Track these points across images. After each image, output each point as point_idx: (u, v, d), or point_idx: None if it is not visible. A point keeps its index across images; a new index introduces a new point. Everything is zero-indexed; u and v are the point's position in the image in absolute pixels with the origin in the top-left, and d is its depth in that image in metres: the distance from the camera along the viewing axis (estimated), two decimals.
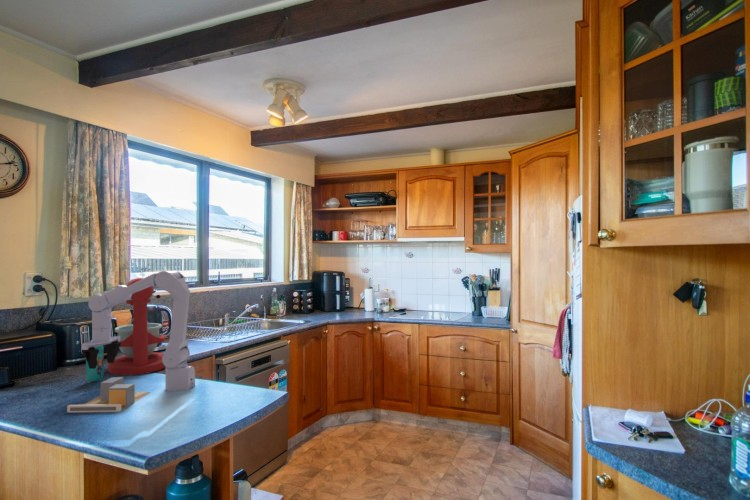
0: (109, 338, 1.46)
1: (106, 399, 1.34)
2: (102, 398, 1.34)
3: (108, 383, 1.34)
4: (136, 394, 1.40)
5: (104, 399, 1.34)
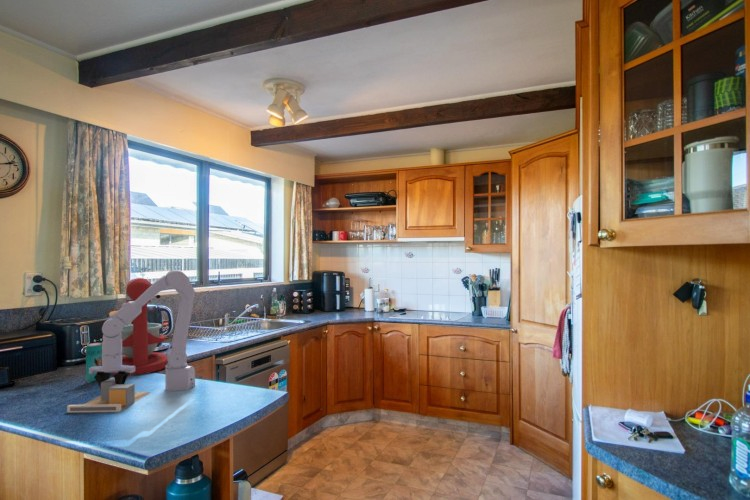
0: (108, 367, 1.34)
1: (106, 399, 1.34)
2: (102, 398, 1.34)
3: (108, 383, 1.34)
4: (136, 394, 1.40)
5: (104, 399, 1.34)
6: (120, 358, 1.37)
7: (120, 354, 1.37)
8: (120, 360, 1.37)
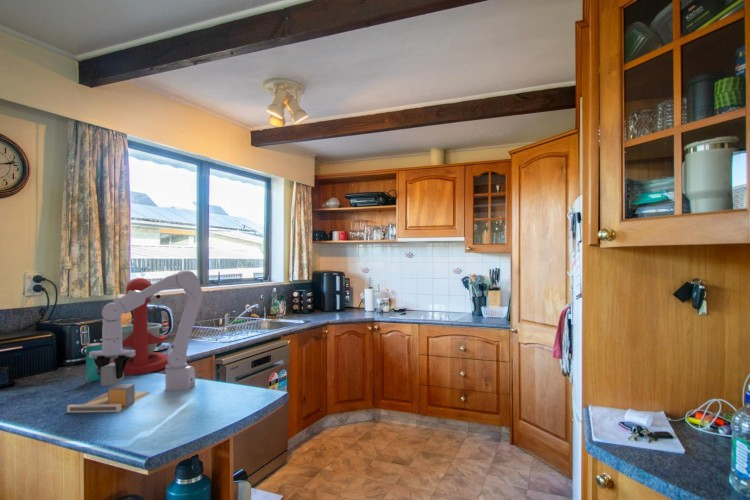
0: (108, 351, 1.34)
1: (106, 384, 1.34)
2: (102, 383, 1.34)
3: (108, 368, 1.34)
4: (136, 394, 1.40)
5: (104, 384, 1.34)
6: (120, 342, 1.37)
7: (120, 338, 1.37)
8: (120, 344, 1.37)
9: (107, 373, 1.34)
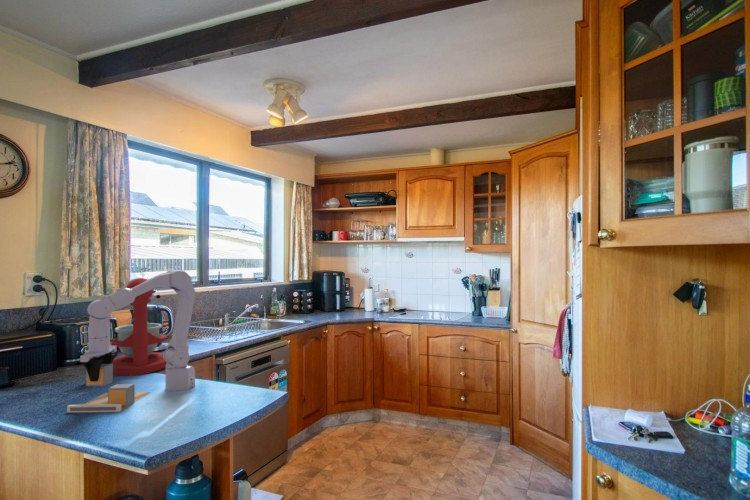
0: (108, 348, 1.31)
1: (108, 382, 1.31)
2: (105, 382, 1.29)
3: (110, 365, 1.31)
4: (136, 394, 1.40)
5: (107, 383, 1.30)
6: None
7: None
8: None
9: (109, 371, 1.31)
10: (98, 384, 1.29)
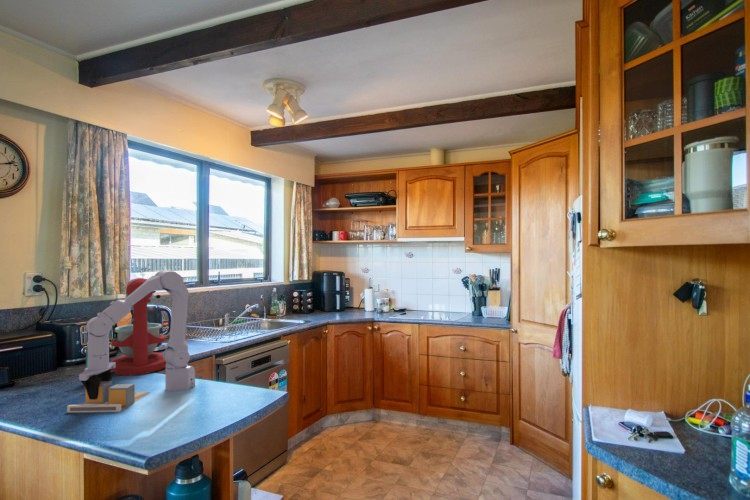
0: (108, 365, 1.31)
1: (107, 400, 1.30)
2: (105, 400, 1.29)
3: (109, 383, 1.31)
4: (136, 394, 1.40)
5: (106, 401, 1.29)
6: None
7: None
8: None
9: None
10: (97, 402, 1.28)
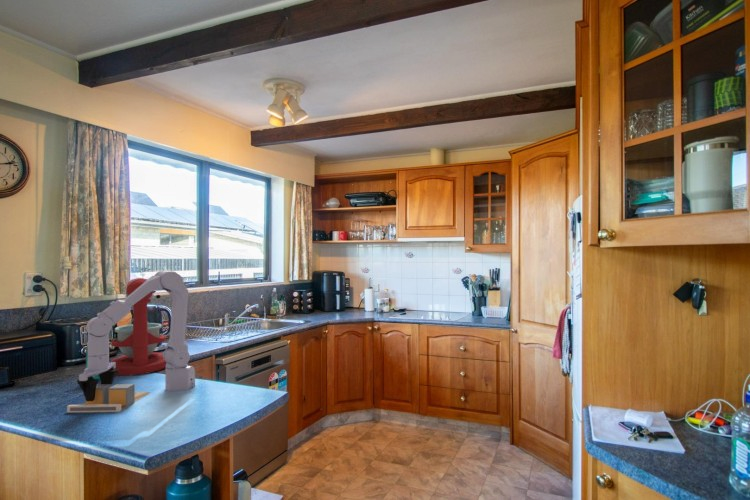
0: (107, 365, 1.31)
1: (107, 403, 1.30)
2: None
3: (109, 386, 1.31)
4: (136, 394, 1.40)
5: None
6: None
7: None
8: None
9: None
10: None
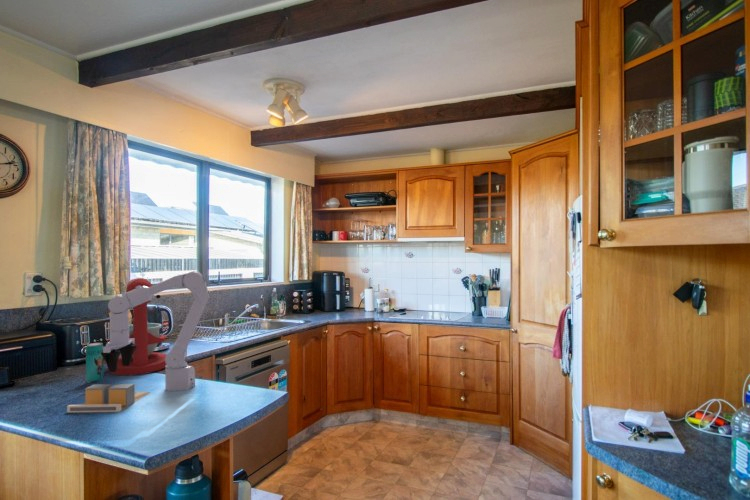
0: (128, 340, 1.42)
1: (107, 403, 1.30)
2: None
3: (109, 386, 1.31)
4: (136, 394, 1.40)
5: None
6: None
7: None
8: None
9: None
10: None
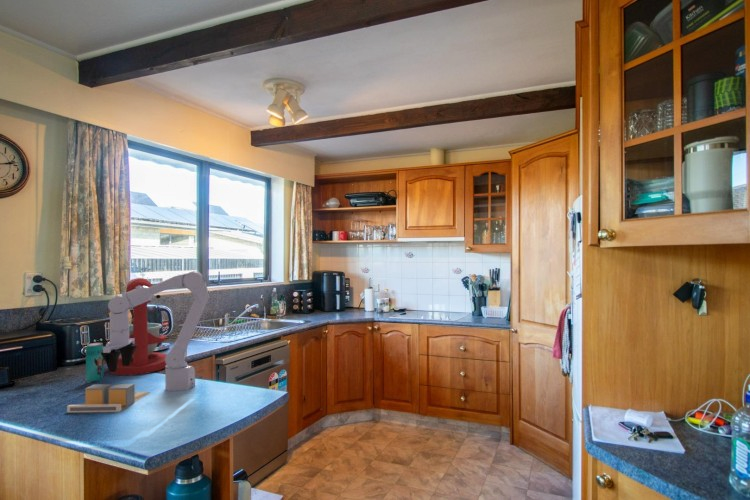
0: (128, 340, 1.42)
1: (107, 403, 1.30)
2: None
3: (109, 386, 1.31)
4: (136, 394, 1.40)
5: None
6: None
7: None
8: None
9: None
10: None
